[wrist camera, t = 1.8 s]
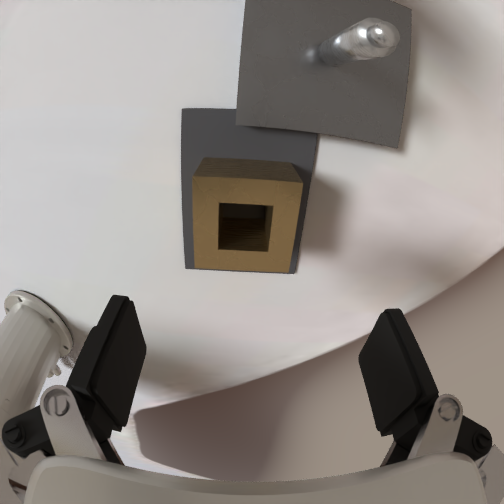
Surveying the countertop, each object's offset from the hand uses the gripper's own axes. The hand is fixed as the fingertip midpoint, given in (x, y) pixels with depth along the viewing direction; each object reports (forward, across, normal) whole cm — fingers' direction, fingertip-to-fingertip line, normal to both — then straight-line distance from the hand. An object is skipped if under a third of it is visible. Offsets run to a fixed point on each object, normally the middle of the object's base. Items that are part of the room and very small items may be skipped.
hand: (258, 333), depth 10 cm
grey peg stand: (+14, -4, -12) cm, 19 cm away
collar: (+14, +1, 0) cm, 14 cm away
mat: (+14, +1, 0) cm, 14 cm away
